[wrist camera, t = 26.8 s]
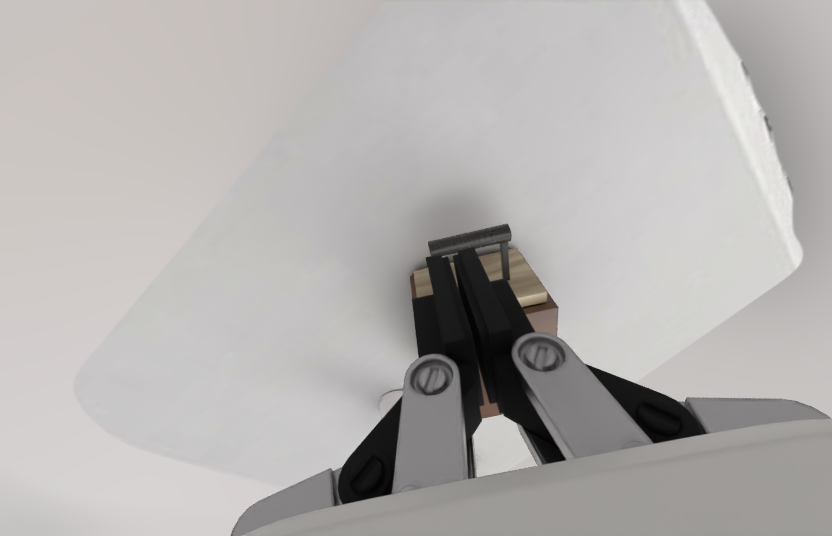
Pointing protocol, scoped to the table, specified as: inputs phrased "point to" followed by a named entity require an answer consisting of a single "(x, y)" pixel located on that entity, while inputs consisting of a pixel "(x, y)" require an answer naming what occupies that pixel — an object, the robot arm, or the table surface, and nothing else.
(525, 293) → the drawer
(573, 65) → the table surface
